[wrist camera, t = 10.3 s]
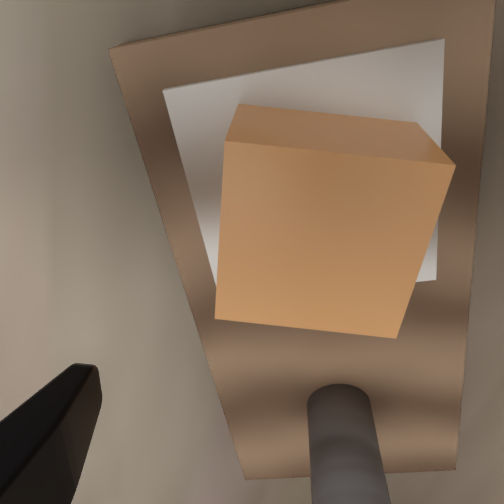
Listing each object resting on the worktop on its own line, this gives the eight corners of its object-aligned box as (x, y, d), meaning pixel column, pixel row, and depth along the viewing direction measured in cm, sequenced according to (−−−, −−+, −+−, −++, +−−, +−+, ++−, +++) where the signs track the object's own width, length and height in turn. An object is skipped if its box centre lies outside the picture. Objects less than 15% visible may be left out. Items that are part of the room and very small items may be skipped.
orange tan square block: (417, 122, 15) (455, 165, 11) (375, 270, 18) (396, 338, 15) (238, 103, 15) (224, 140, 12) (227, 254, 18) (214, 319, 15)
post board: (447, 446, 26) (499, 596, 20) (247, 456, 28) (236, 598, 22) (478, -29, 14) (639, -34, 8) (122, 43, 16) (12, 87, 9)
